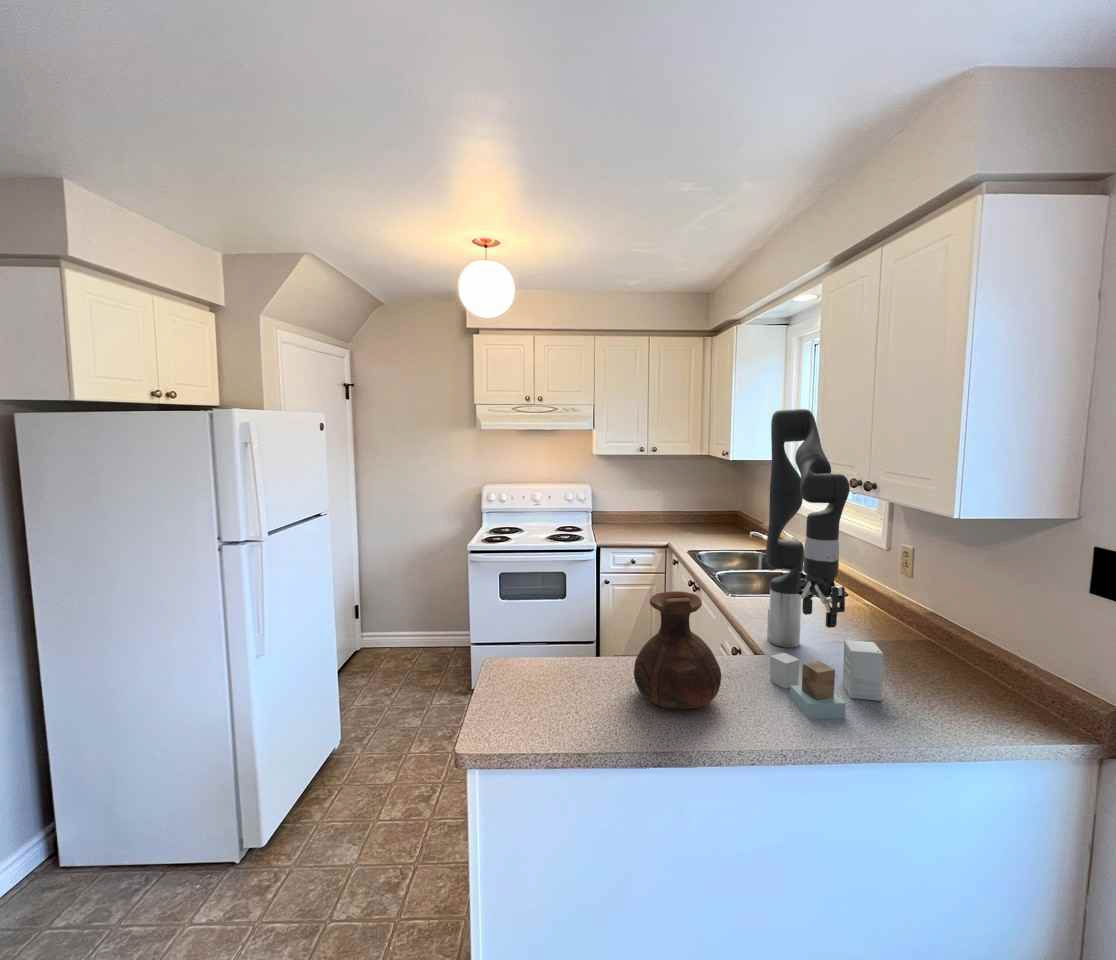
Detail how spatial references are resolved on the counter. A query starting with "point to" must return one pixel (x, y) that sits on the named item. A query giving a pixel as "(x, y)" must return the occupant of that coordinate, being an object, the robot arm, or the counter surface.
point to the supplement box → (862, 670)
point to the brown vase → (677, 657)
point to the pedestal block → (817, 704)
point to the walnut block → (818, 680)
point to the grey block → (784, 670)
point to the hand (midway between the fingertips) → (818, 620)
